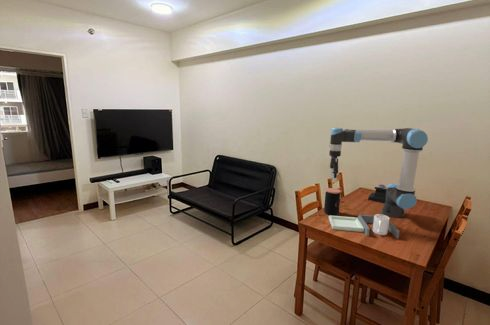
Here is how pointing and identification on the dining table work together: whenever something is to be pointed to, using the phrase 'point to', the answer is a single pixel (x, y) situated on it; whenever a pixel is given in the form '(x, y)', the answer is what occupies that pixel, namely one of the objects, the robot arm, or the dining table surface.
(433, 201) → the dining table surface
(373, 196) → the camera
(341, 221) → the tray
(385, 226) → the mug
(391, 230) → the bay
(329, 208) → the coffee jar
